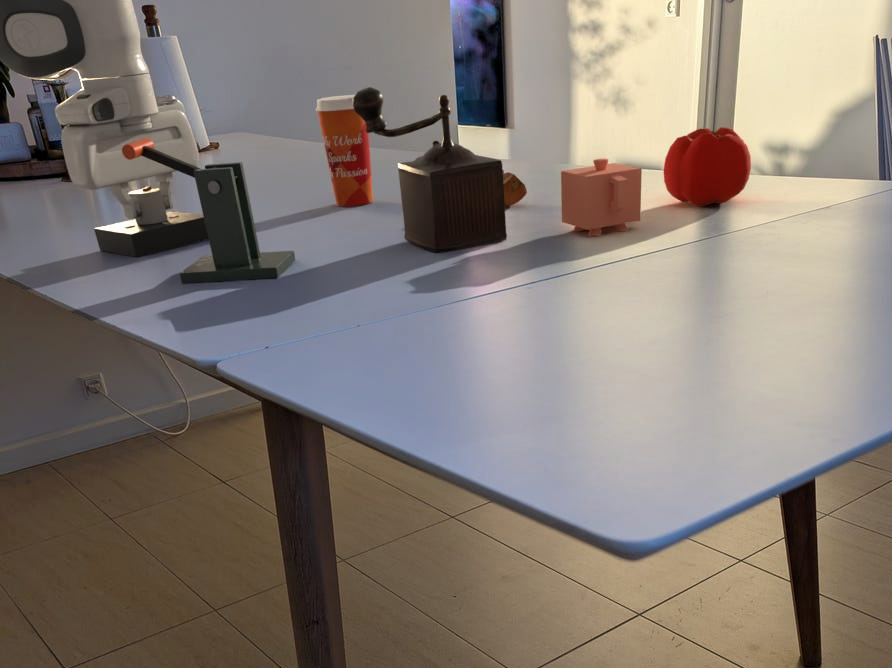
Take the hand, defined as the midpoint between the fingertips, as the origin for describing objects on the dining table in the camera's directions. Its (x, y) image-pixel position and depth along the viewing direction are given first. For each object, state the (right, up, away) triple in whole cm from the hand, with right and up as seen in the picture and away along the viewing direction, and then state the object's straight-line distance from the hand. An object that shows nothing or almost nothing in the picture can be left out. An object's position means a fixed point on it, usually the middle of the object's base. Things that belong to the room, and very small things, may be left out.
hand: (150, 213), depth 130 cm
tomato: (+79, +1, -1) cm, 79 cm away
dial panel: (0, -3, +2) cm, 4 cm away
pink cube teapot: (+63, -7, -10) cm, 64 cm away
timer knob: (0, -1, +1) cm, 1 cm away
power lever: (+12, -6, -22) cm, 25 cm away
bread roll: (+51, +4, +7) cm, 51 cm away
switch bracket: (+17, -15, -16) cm, 28 cm away
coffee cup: (+27, +11, +20) cm, 35 cm away
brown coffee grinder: (+41, -9, -11) cm, 44 cm away
